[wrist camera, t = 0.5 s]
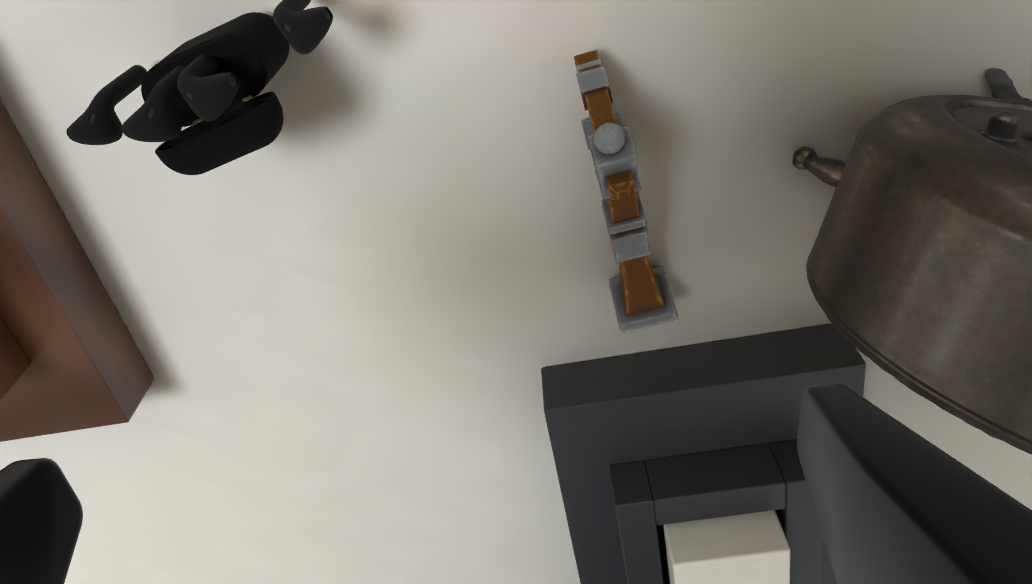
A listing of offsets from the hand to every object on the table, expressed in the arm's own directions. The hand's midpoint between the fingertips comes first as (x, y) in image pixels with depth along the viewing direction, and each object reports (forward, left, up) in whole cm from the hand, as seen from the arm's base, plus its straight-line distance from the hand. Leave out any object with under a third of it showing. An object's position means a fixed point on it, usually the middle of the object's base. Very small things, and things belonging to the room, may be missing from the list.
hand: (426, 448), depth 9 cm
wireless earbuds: (+2, +6, -14) cm, 15 cm away
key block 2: (-16, -5, -14) cm, 22 cm away
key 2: (-16, -5, -10) cm, 20 cm away
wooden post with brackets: (-4, -3, -14) cm, 15 cm away
